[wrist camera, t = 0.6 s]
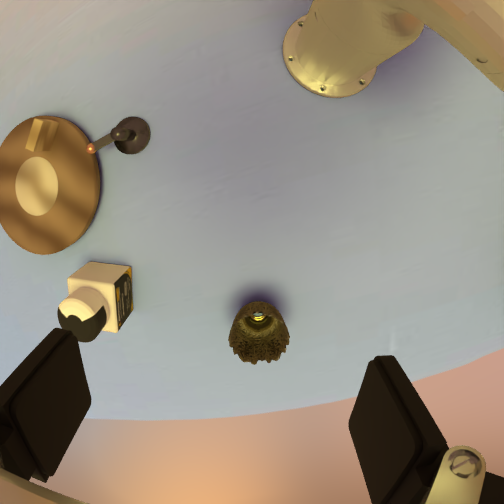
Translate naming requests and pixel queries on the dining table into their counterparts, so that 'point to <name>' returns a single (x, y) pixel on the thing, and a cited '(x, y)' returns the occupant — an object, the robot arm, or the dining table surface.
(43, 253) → the disc
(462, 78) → the dining table surface
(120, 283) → the medicine bottle
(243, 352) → the brown textured pot
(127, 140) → the joystick
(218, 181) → the dining table surface
